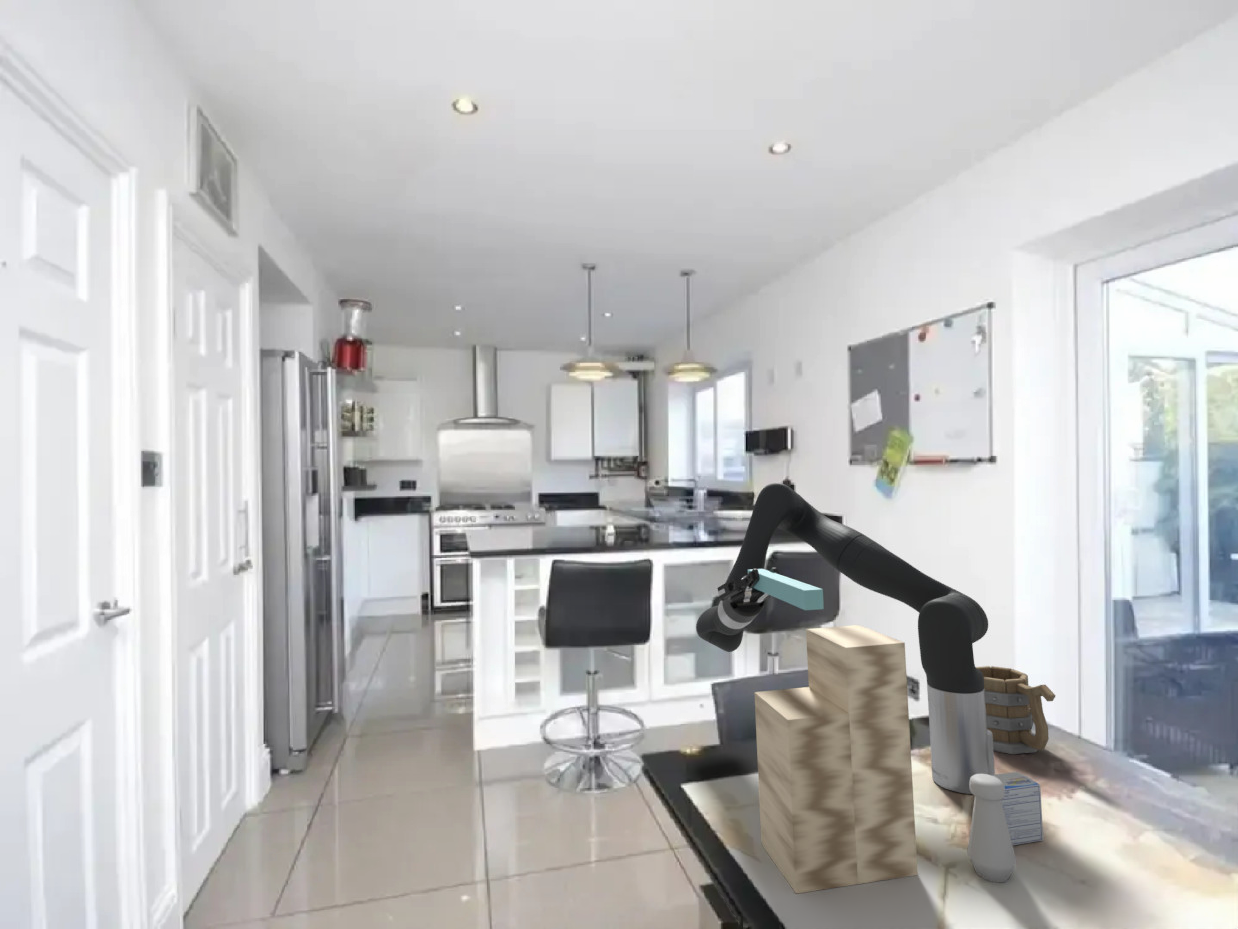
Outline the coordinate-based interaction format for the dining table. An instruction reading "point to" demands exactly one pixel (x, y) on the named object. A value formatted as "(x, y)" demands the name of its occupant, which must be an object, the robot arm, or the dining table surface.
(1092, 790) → the dining table surface
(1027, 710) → the tankard
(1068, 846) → the dining table surface
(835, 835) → the block
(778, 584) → the teal bar
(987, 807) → the salt shaker
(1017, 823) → the medicine box
